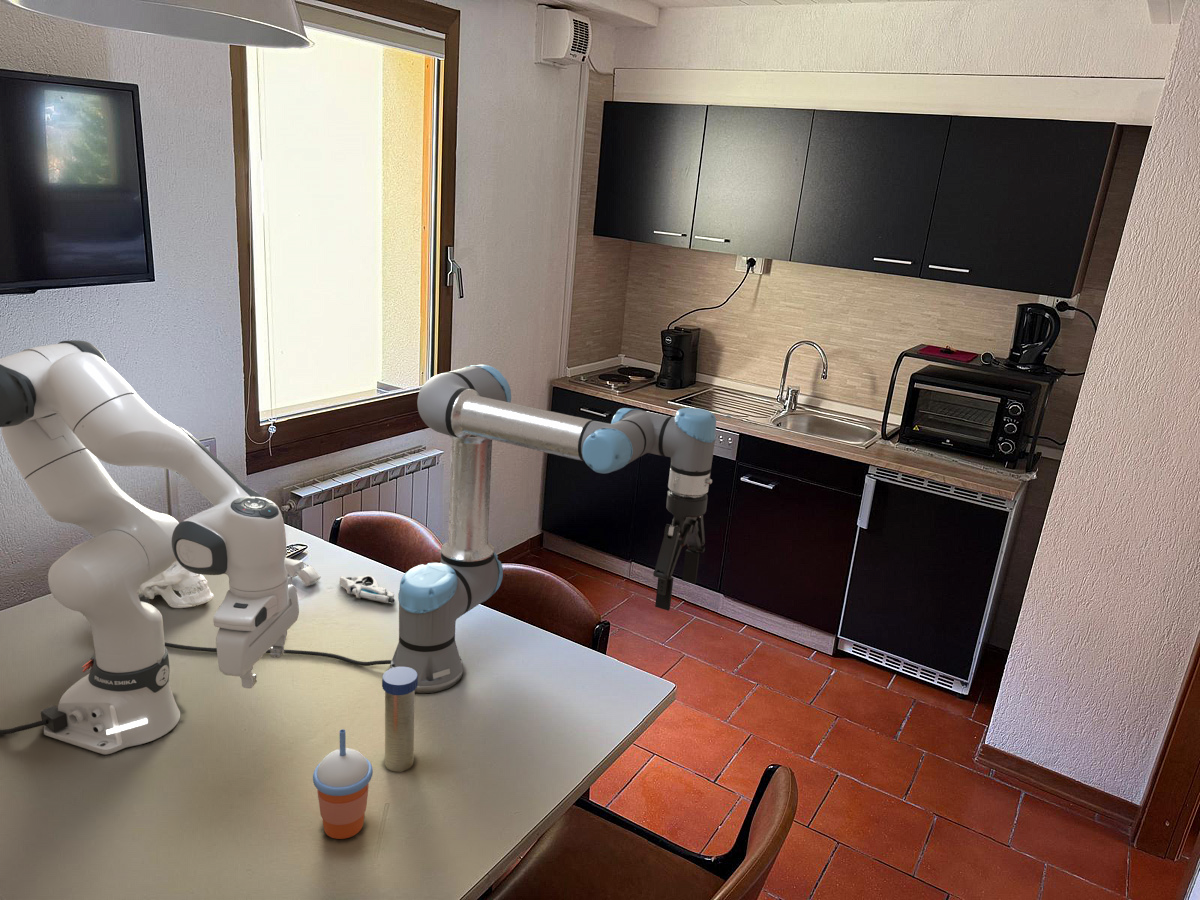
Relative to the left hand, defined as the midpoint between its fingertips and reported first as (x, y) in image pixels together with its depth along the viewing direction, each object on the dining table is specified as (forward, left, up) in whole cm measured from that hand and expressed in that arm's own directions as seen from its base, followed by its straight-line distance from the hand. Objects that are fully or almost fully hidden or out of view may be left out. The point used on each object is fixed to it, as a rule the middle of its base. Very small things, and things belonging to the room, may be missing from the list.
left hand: (263, 670), depth 143 cm
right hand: (+67, +33, +7) cm, 75 cm away
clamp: (-32, +72, -21) cm, 82 cm away
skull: (-52, +55, -21) cm, 78 cm away
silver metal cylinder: (+21, +8, -21) cm, 30 cm away
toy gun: (-8, +69, -21) cm, 72 cm away
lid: (+21, +8, -3) cm, 22 cm away
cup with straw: (+17, -9, -21) cm, 29 cm away
